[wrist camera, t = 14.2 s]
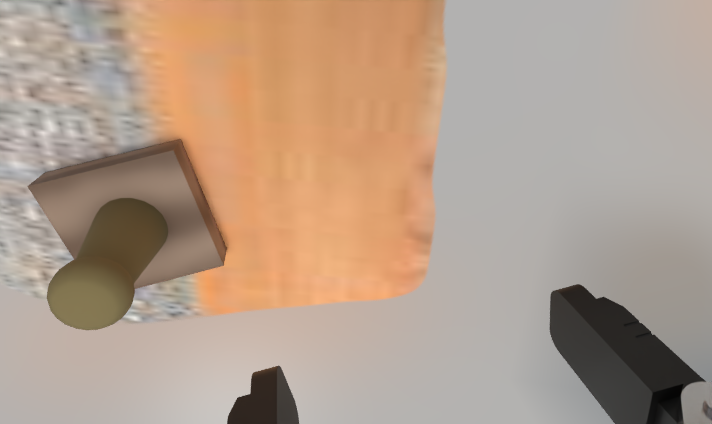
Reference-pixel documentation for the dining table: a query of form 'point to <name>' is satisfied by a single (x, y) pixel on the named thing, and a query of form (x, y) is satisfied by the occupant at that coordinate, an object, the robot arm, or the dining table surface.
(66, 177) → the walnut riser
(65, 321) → the olive knob-ended peg
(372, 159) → the dining table surface
